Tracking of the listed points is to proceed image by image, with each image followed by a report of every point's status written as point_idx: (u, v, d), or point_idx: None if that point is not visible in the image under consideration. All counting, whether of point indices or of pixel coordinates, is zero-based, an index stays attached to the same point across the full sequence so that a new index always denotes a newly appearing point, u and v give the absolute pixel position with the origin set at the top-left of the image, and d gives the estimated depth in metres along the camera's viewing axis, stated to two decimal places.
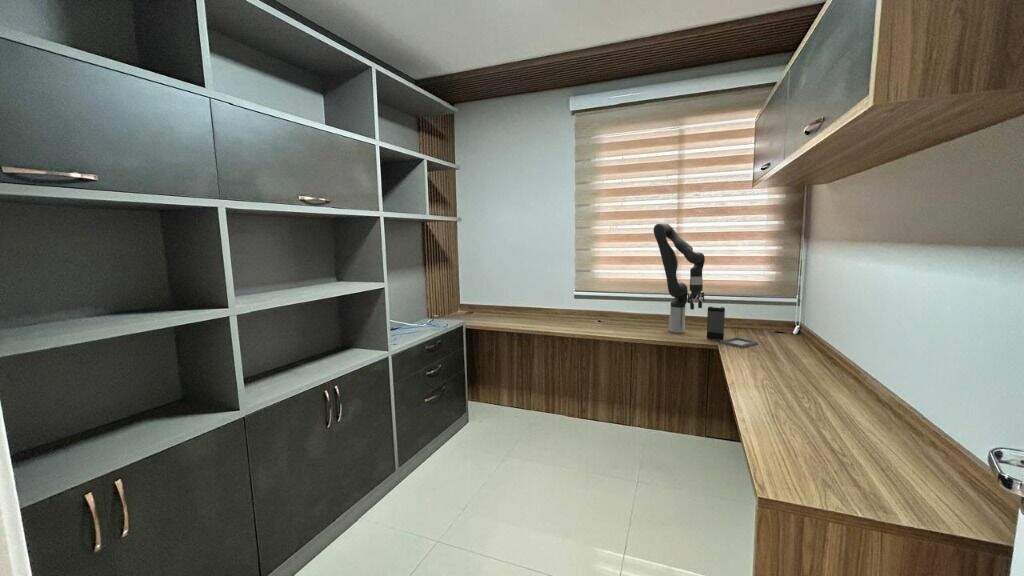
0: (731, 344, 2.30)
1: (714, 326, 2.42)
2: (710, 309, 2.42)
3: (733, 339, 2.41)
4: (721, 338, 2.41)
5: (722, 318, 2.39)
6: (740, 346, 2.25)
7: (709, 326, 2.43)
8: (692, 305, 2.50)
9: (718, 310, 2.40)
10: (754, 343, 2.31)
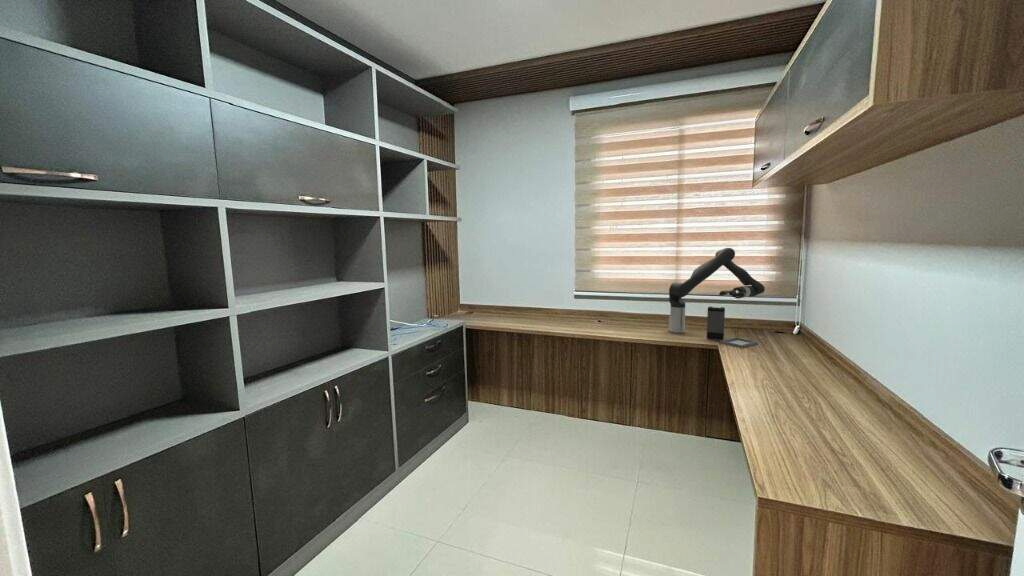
0: (731, 344, 2.30)
1: (714, 326, 2.42)
2: (710, 309, 2.42)
3: (733, 339, 2.41)
4: (721, 338, 2.41)
5: (722, 318, 2.39)
6: (740, 346, 2.25)
7: (709, 326, 2.43)
8: (736, 296, 2.50)
9: (718, 310, 2.40)
10: (754, 343, 2.31)
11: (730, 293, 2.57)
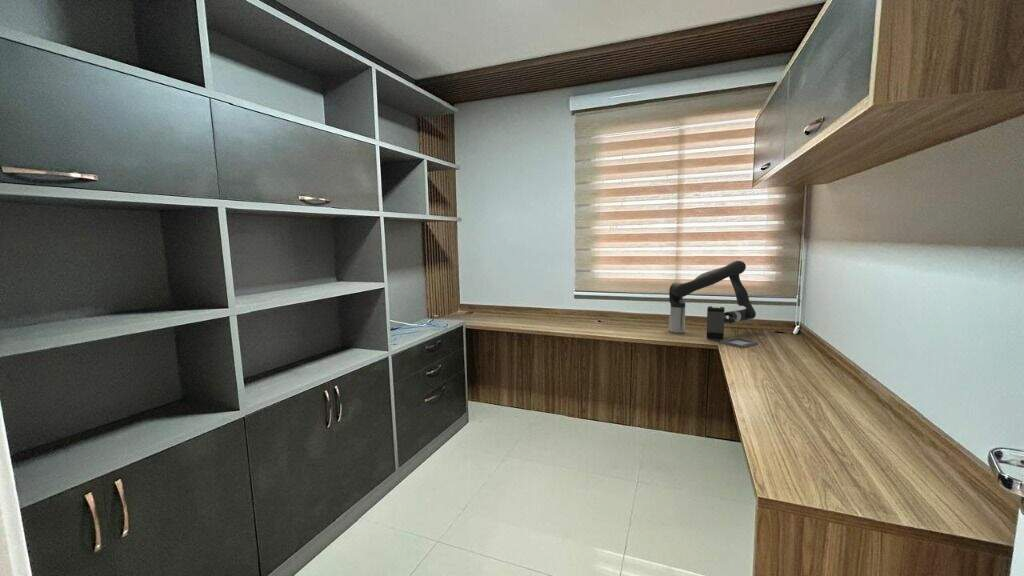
0: (731, 344, 2.30)
1: (714, 326, 2.42)
2: (710, 309, 2.41)
3: (733, 339, 2.41)
4: (721, 338, 2.41)
5: (722, 318, 2.39)
6: (740, 346, 2.25)
7: (709, 326, 2.43)
8: (726, 321, 2.41)
9: (718, 310, 2.39)
10: (754, 343, 2.31)
11: None
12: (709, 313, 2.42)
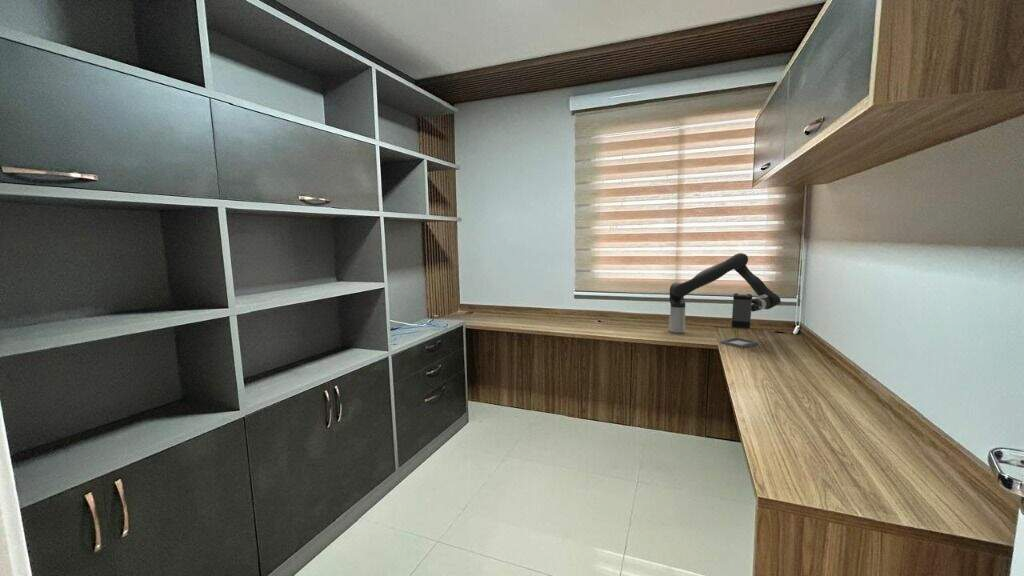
0: (731, 344, 2.30)
1: (740, 314, 2.28)
2: (736, 297, 2.27)
3: (733, 339, 2.41)
4: (747, 327, 2.28)
5: (749, 306, 2.25)
6: (740, 346, 2.25)
7: (735, 315, 2.30)
8: None
9: (745, 298, 2.25)
10: (754, 343, 2.31)
11: None
12: (735, 301, 2.28)
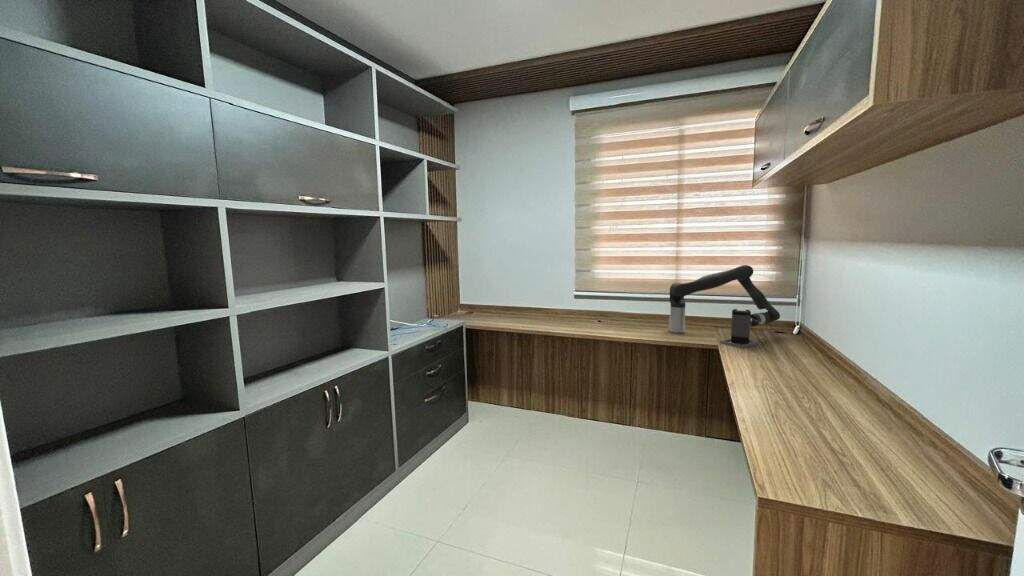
0: (731, 344, 2.30)
1: (739, 330, 2.29)
2: (735, 313, 2.29)
3: None
4: (747, 342, 2.29)
5: (748, 322, 2.27)
6: (740, 346, 2.25)
7: (734, 330, 2.31)
8: None
9: (744, 314, 2.26)
10: (754, 343, 2.31)
11: None
12: (734, 317, 2.29)
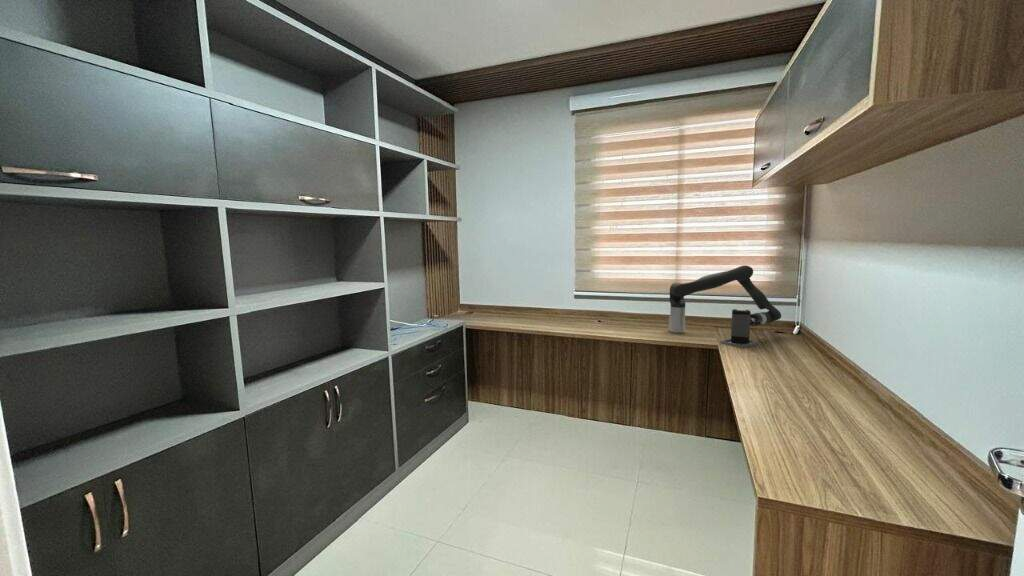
0: (731, 344, 2.30)
1: (739, 330, 2.30)
2: (735, 312, 2.30)
3: None
4: (747, 342, 2.29)
5: (748, 321, 2.28)
6: (740, 346, 2.25)
7: (734, 330, 2.32)
8: (752, 324, 2.30)
9: (744, 313, 2.28)
10: (754, 343, 2.31)
11: None
12: (734, 316, 2.31)
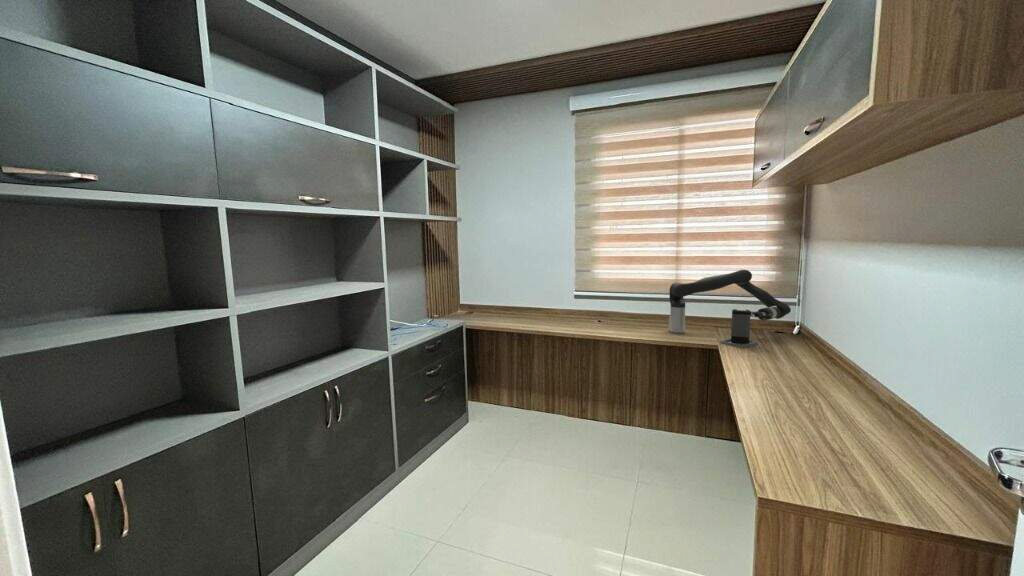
0: (731, 344, 2.30)
1: (739, 330, 2.30)
2: (735, 312, 2.30)
3: None
4: (747, 342, 2.29)
5: (748, 321, 2.28)
6: (740, 346, 2.25)
7: (734, 330, 2.32)
8: None
9: (744, 313, 2.28)
10: (754, 343, 2.31)
11: (756, 315, 2.42)
12: (734, 316, 2.31)
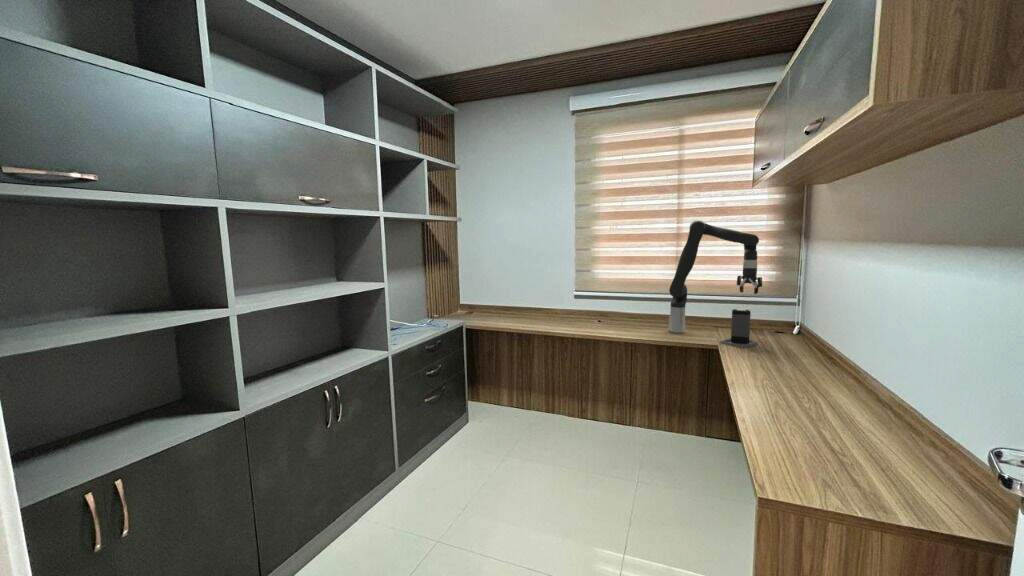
0: (731, 344, 2.30)
1: (739, 330, 2.30)
2: (735, 312, 2.30)
3: None
4: (747, 342, 2.29)
5: (748, 321, 2.28)
6: (740, 346, 2.25)
7: (734, 330, 2.32)
8: None
9: (744, 313, 2.28)
10: (754, 343, 2.31)
11: None
12: (734, 316, 2.31)
